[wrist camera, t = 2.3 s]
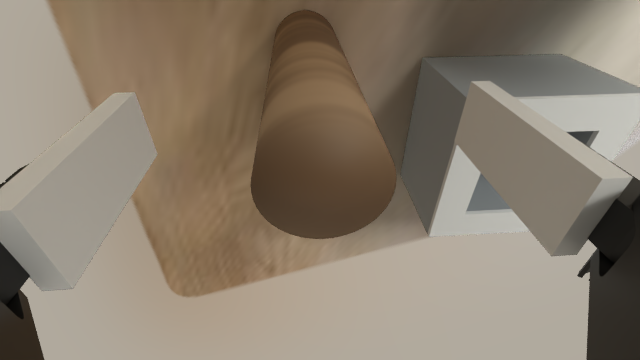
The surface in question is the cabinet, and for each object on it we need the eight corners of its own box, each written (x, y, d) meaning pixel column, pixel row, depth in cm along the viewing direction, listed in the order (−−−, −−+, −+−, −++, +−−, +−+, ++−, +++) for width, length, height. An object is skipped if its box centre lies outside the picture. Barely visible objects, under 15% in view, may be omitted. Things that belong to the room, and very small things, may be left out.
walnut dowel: (271, 10, 19) (239, 127, 7) (336, 9, 19) (407, 121, 8) (277, 76, 22) (259, 242, 10) (335, 74, 22) (386, 235, 10)
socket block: (422, 57, 22) (470, 101, 16) (561, 54, 22) (657, 94, 16) (400, 174, 28) (428, 236, 22) (510, 169, 28) (566, 229, 22)
